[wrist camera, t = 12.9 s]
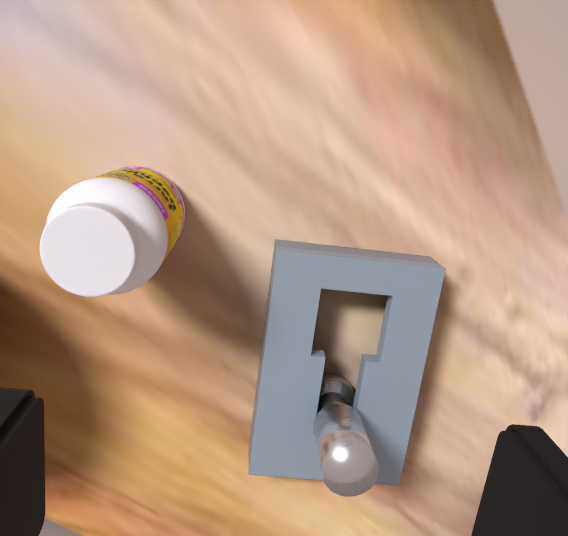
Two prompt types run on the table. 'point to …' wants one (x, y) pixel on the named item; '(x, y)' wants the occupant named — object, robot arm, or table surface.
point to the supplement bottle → (112, 231)
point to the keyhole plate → (310, 363)
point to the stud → (343, 440)
